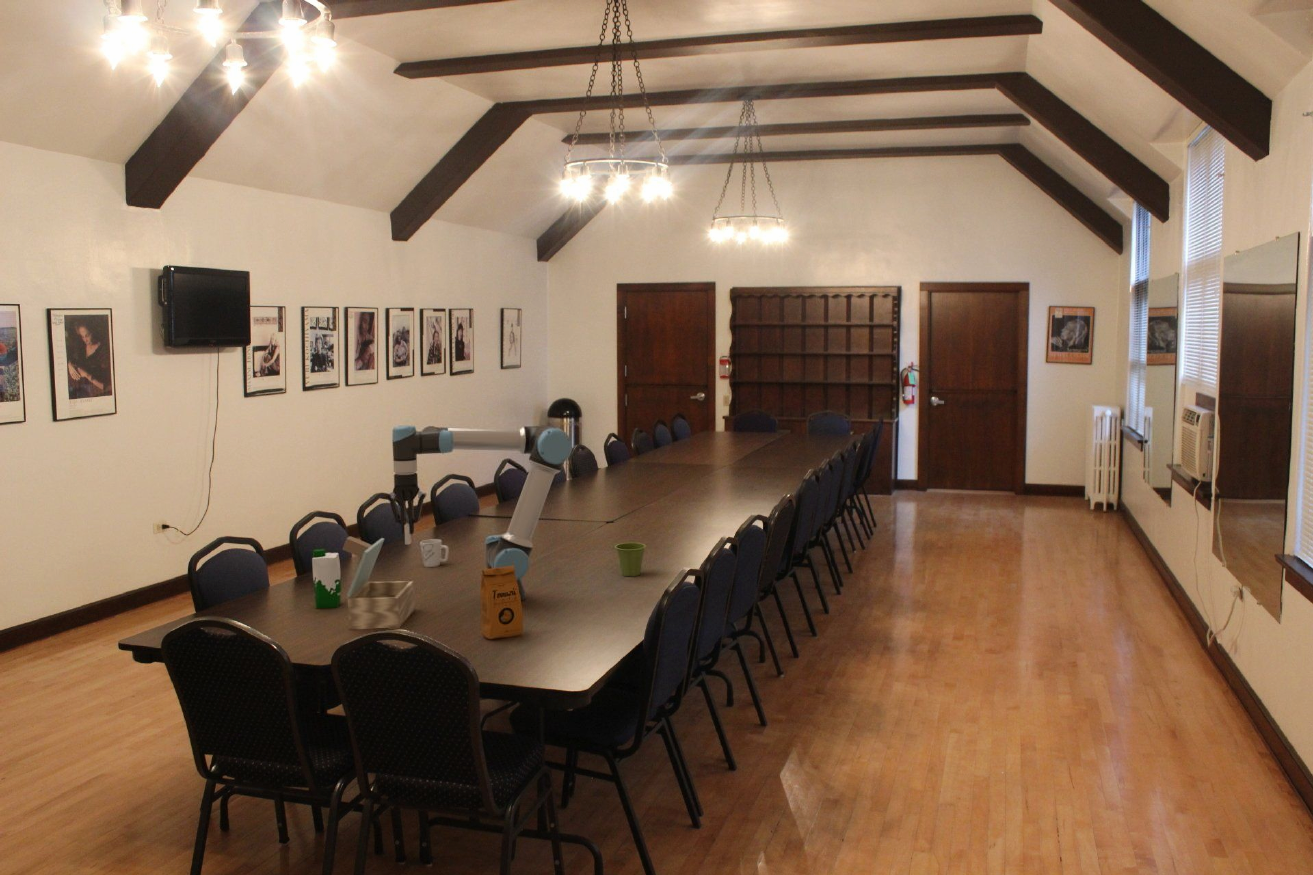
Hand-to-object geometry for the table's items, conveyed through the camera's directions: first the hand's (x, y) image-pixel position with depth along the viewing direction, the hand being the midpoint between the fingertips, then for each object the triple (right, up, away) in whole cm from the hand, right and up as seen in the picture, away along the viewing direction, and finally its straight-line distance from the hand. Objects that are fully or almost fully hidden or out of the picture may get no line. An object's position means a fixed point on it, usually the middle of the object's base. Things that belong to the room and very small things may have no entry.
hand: (408, 543), depth 346 cm
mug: (-8, -17, +79) cm, 81 cm away
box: (-9, -26, +3) cm, 27 cm away
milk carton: (-33, -24, +21) cm, 46 cm away
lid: (-14, -8, +1) cm, 16 cm away
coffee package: (+34, -27, -18) cm, 47 cm away
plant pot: (+72, -18, +57) cm, 94 cm away
